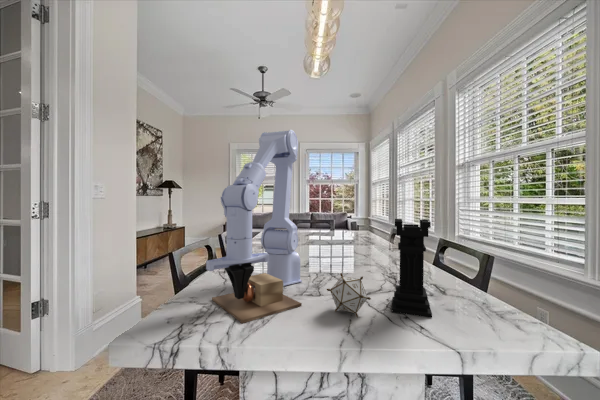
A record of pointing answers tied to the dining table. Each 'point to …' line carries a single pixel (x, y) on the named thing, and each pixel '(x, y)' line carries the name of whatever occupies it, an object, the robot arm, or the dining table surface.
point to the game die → (348, 294)
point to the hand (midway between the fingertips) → (239, 297)
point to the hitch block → (258, 300)
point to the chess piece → (411, 270)
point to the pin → (250, 292)
